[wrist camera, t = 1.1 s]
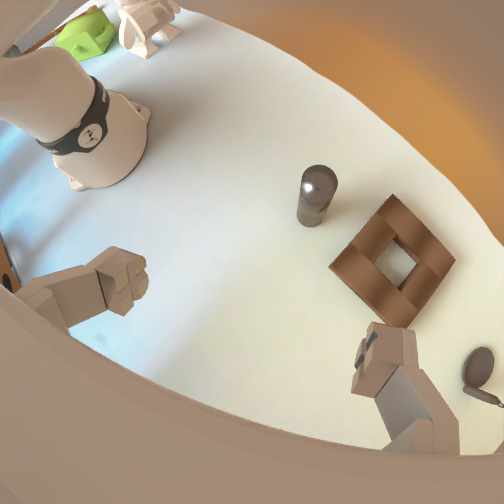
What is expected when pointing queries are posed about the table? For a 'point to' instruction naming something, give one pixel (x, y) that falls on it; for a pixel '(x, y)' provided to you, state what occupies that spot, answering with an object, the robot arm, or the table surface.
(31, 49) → the hammer
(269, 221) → the table surface
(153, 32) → the toy robot
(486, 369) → the pocket watch
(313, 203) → the steel pin
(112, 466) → the robot arm
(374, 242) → the socket plate
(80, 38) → the lime green lipped cube
